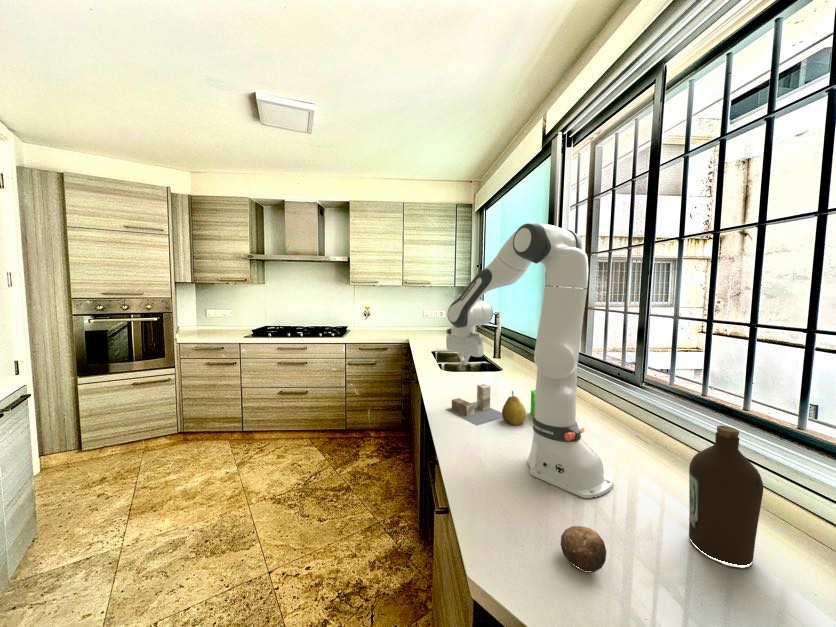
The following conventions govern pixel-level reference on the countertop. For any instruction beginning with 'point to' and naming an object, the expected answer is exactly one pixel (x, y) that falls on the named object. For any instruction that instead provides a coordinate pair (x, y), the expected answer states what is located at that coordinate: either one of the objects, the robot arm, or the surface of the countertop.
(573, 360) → the robot arm
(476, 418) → the mat
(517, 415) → the fruit
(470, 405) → the walnut block
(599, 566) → the brown potato
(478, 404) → the ash block
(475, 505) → the countertop surface
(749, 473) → the olive oil
